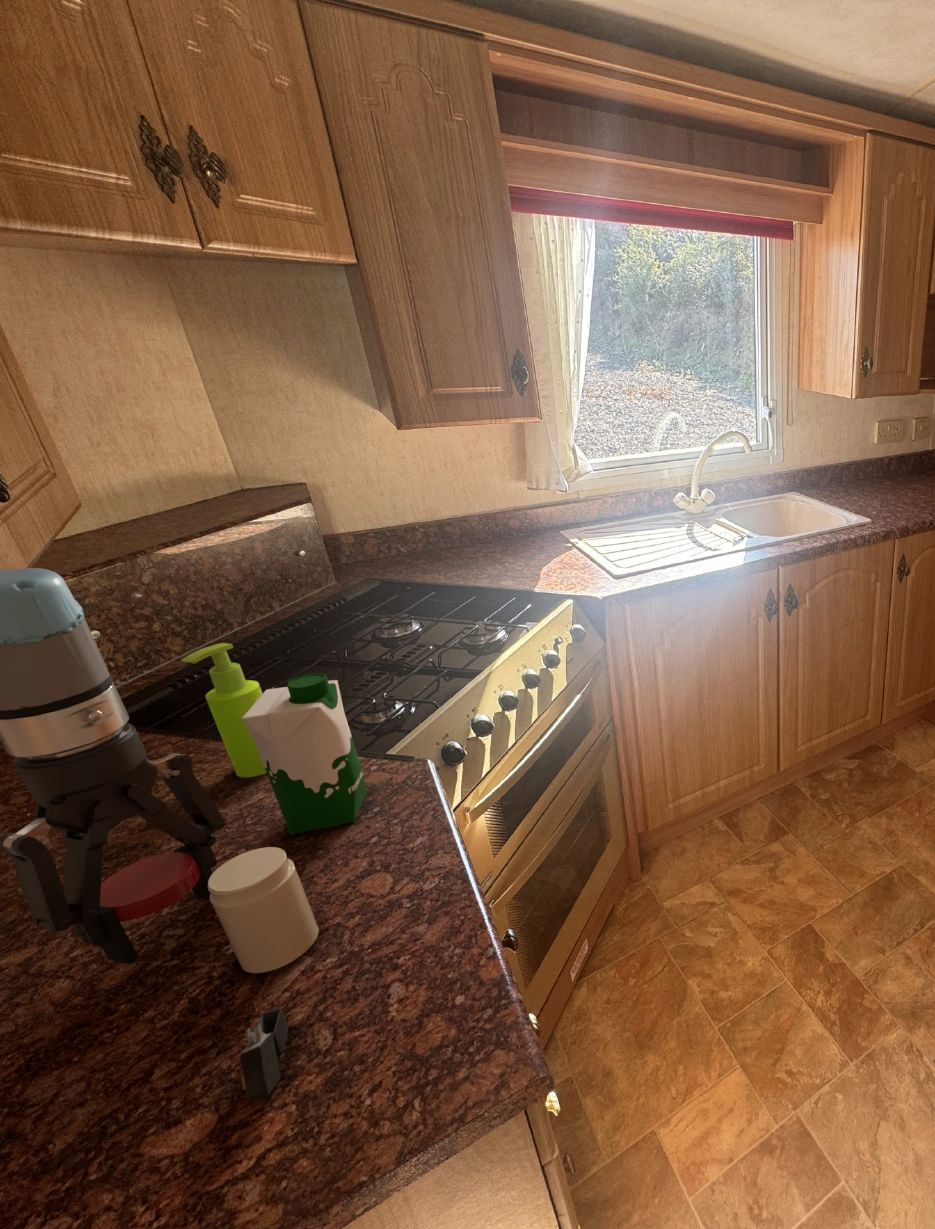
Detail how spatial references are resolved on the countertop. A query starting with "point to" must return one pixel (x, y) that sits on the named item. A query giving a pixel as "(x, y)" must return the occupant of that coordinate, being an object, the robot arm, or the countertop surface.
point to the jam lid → (149, 885)
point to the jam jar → (263, 909)
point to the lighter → (263, 1054)
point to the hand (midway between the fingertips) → (168, 925)
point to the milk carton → (308, 753)
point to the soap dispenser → (232, 708)
